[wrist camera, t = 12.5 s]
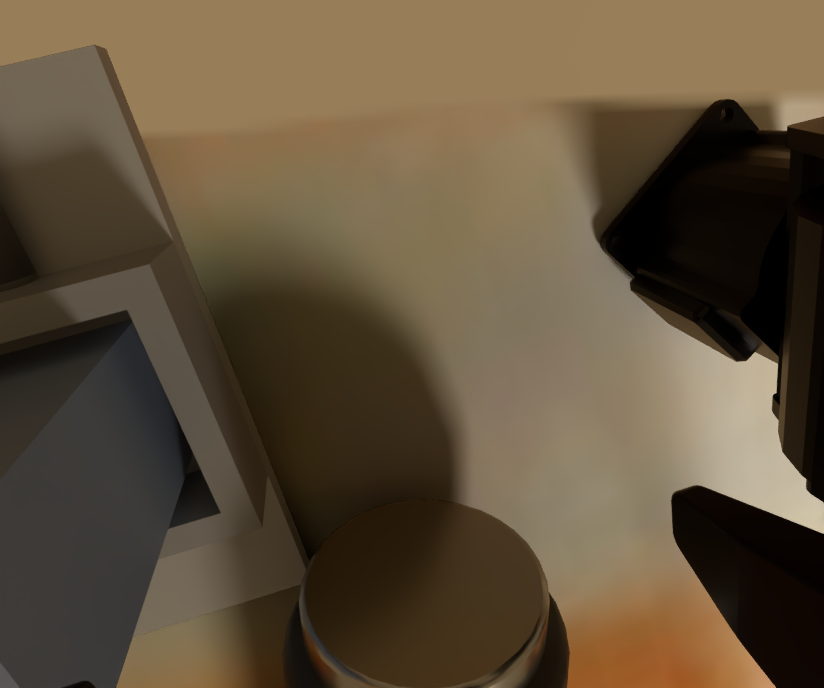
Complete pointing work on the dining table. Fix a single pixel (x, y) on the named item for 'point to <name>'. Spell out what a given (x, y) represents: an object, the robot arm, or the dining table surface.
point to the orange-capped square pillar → (81, 503)
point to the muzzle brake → (425, 605)
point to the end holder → (135, 320)
